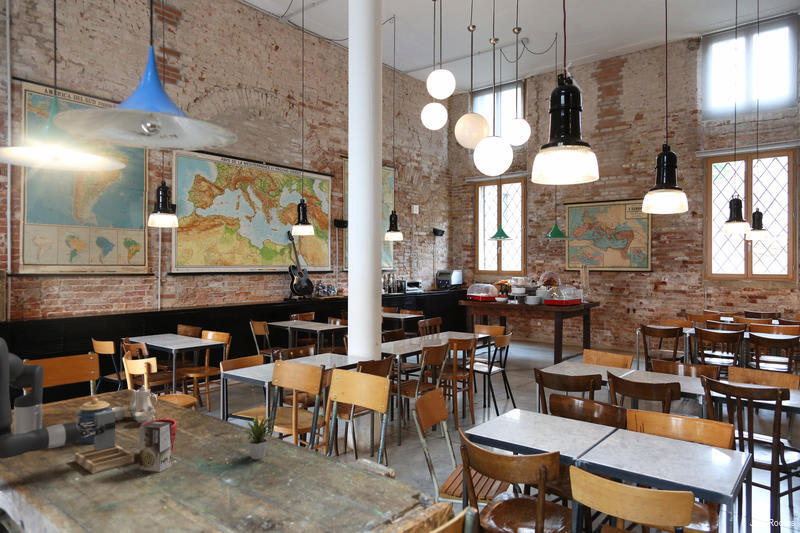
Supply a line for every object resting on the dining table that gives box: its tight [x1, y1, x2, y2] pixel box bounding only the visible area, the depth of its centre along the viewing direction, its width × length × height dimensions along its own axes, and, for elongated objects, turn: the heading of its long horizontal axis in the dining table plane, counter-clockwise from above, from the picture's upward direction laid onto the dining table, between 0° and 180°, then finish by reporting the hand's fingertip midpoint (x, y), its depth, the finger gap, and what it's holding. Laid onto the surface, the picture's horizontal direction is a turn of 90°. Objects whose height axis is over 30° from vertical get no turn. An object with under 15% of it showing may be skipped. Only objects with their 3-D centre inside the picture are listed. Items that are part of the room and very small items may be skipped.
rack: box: [74, 443, 135, 475], centre depth 193 cm, size 18×14×3 cm
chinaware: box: [111, 384, 158, 426], centre depth 245 cm, size 28×17×17 cm, turn 72°
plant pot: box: [142, 418, 178, 453], centre depth 201 cm, size 13×13×12 cm
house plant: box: [241, 414, 277, 460], centre depth 198 cm, size 14×14×16 cm
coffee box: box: [139, 420, 172, 473], centre depth 188 cm, size 9×6×16 cm
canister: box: [76, 397, 112, 445], centre depth 217 cm, size 13×13×18 cm
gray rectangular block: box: [93, 410, 116, 450], centre depth 193 cm, size 4×6×13 cm, turn 140°
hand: (112, 424), depth 195 cm, fingers closed on gray rectangular block, 3 cm apart
